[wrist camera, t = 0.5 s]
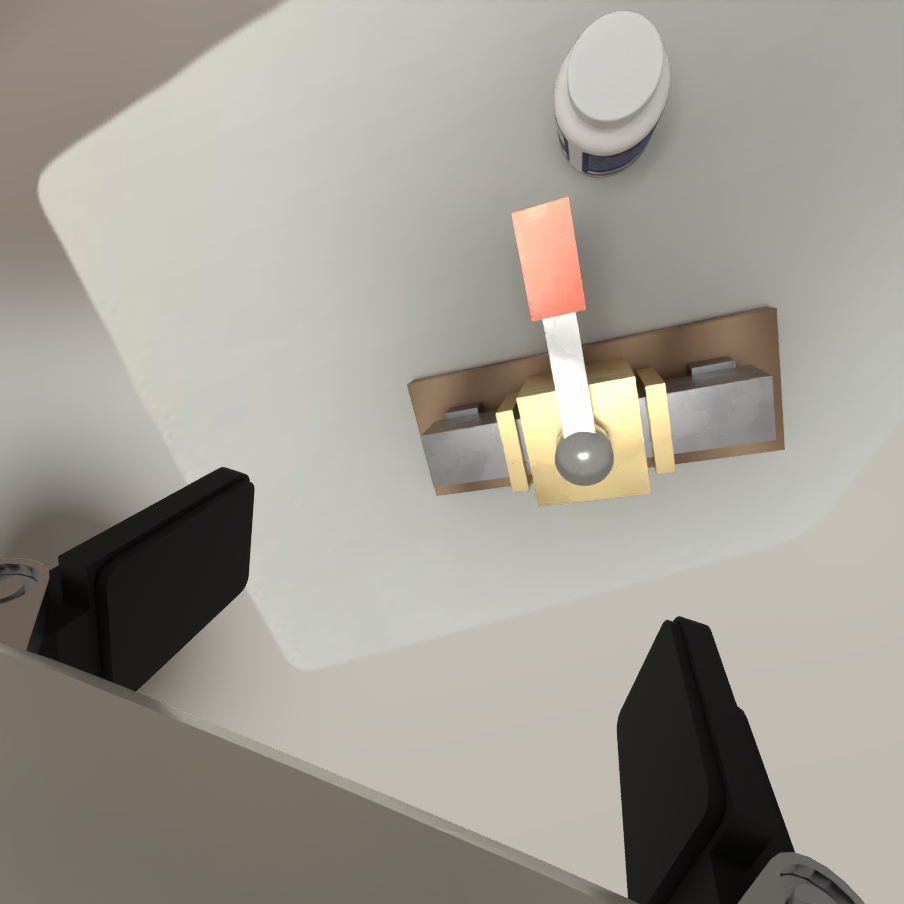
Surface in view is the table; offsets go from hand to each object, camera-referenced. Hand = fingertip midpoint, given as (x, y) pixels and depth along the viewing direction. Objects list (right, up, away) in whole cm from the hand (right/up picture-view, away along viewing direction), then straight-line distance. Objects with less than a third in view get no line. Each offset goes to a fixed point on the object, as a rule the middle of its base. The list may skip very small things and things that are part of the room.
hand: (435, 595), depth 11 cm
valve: (+9, +6, +24) cm, 26 cm away
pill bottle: (+10, +23, +20) cm, 31 cm away
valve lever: (+6, +8, +16) cm, 19 cm away
